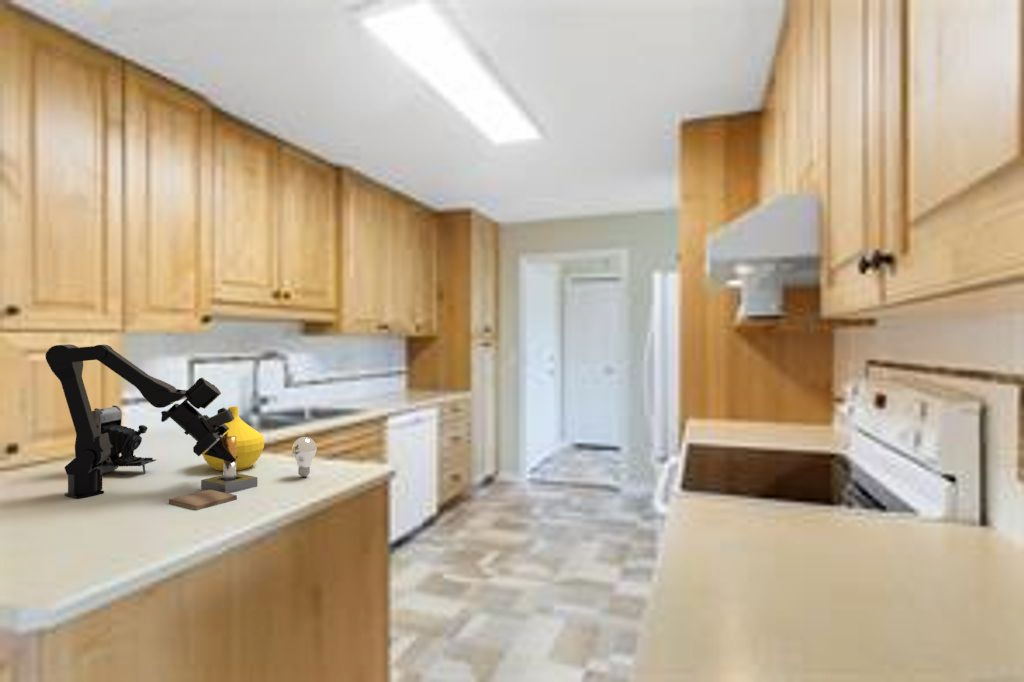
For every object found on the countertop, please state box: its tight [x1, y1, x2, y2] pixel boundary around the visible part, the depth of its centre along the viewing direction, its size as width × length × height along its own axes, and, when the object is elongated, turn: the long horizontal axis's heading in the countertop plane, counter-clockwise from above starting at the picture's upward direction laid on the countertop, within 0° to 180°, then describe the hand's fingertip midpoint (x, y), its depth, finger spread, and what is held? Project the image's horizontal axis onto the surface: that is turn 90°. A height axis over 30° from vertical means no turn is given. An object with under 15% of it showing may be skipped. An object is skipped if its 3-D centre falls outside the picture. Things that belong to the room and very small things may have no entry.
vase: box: [201, 406, 265, 472], centre depth 189 cm, size 18×18×19 cm
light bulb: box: [291, 436, 318, 478], centre depth 179 cm, size 7×7×12 cm
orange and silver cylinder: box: [222, 436, 237, 481], centre depth 166 cm, size 3×3×14 cm
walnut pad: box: [168, 490, 238, 511], centre depth 152 cm, size 11×11×1 cm
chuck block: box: [200, 472, 258, 494], centre depth 166 cm, size 10×10×2 cm
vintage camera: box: [92, 405, 157, 475], centre depth 179 cm, size 10×15×20 cm, turn 89°
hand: (235, 459), depth 166 cm, fingers closed on orange and silver cylinder, 3 cm apart
